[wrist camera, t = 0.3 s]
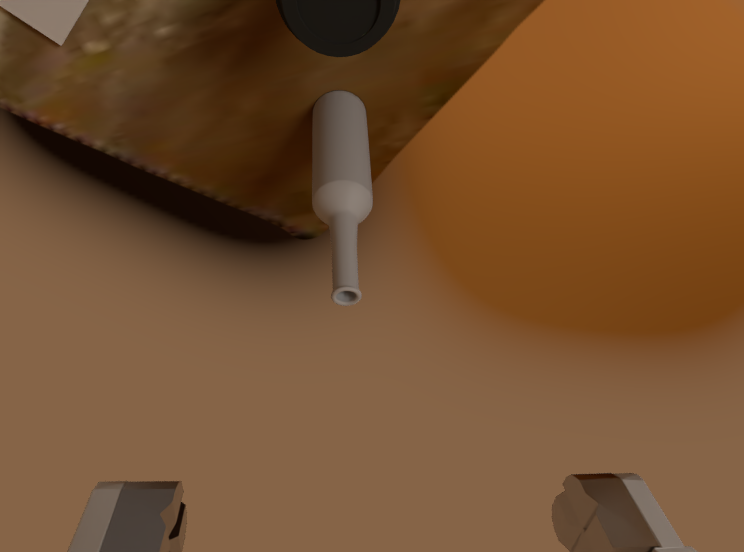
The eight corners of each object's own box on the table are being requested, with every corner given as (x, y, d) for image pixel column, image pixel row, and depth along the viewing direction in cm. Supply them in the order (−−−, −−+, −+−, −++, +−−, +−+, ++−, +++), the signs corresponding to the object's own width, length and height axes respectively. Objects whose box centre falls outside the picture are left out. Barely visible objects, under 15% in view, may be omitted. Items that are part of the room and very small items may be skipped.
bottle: (374, 123, 64) (394, 305, 47) (329, 143, 66) (332, 324, 49) (350, 81, 59) (362, 266, 42) (302, 104, 61) (294, 290, 44)
